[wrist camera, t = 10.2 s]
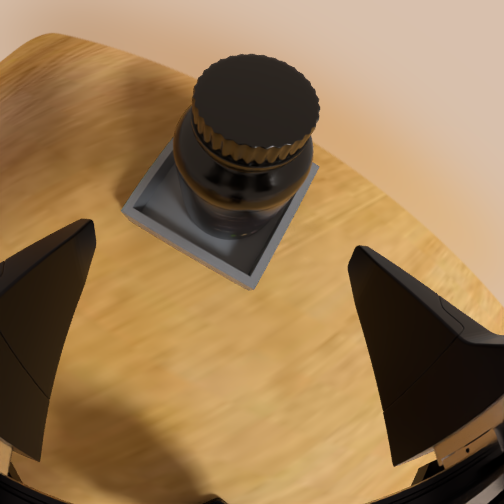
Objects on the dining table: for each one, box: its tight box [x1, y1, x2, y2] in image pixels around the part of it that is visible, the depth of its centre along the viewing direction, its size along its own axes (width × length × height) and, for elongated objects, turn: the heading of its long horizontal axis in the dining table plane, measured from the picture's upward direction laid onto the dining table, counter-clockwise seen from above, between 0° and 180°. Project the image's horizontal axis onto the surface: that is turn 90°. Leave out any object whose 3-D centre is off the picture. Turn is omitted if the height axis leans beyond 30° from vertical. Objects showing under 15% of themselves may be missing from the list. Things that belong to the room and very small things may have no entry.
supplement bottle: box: [173, 54, 320, 240], centre depth 15 cm, size 7×7×12 cm
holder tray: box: [121, 137, 319, 290], centre depth 20 cm, size 10×10×2 cm
